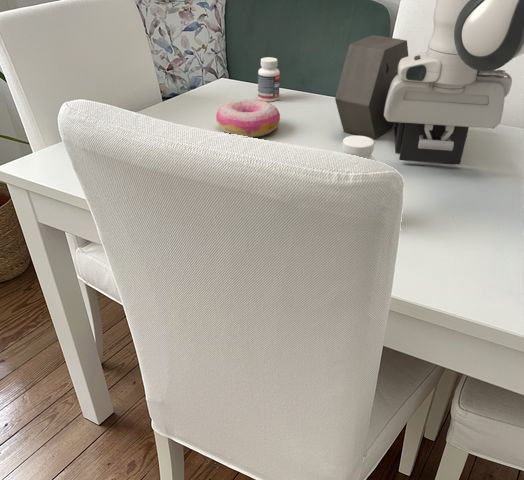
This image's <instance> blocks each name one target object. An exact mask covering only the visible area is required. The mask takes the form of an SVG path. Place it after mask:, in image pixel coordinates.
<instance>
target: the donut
mask: <svg viewBox="0 0 524 480" xmlns="http://www.w3.org/2000/svg"><path fill="white" fill-rule="evenodd" d="M215 119H216V123H217V125H218V126H219V129H221V130H222V131H223V132H225V133H227V134H228V133H231V134H237V135H243V136H248V137H250V138H257V137H258V138H260V137H263V136H266V135H269V134H270V133H272V132H273V131H274V130H276V129H277V128H278V126H279V124H280V121H281V114H280V112H279V109H278V108H277V106H275V105H274V104H273V103H270V101H262V100H260V99H253V98H244V99H235V100H231V101H228V102H225V103H224V104H222V105H221V106H220V107H219V108H218V109H217V111H216V113H215ZM231 134H230V135H231ZM248 137H247V138H248Z"/></svg>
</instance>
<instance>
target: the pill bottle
mask: <svg viewBox="0 0 524 480" xmlns="http://www.w3.org/2000/svg"><path fill="white" fill-rule="evenodd" d="M278 61H279V60H278V58H276V57H271V56H267V57H262V58H261V59H260V68H259V69H258V72H257V100H261V101H265V102H275V101H278V100H279V99H280V78H281V76H280V75H281V72H280V69H278V68H277V67H278V64H279V63H278Z"/></svg>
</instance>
